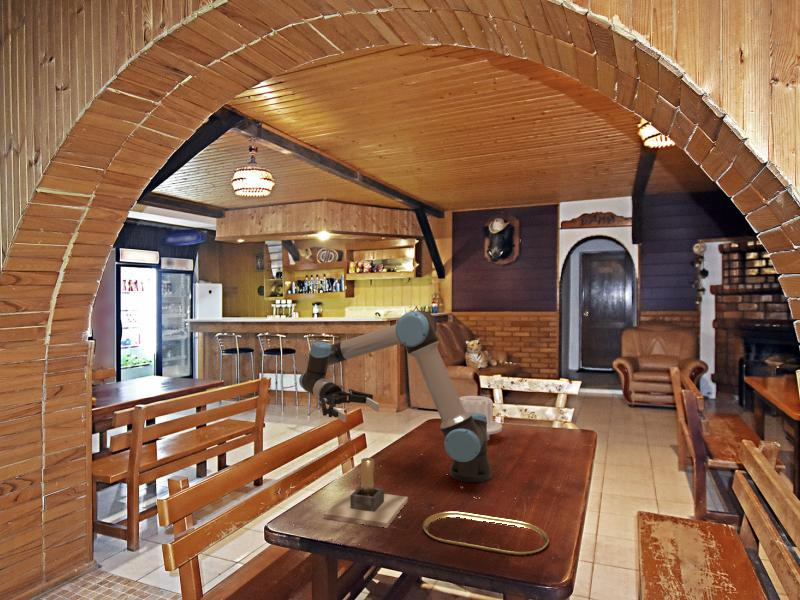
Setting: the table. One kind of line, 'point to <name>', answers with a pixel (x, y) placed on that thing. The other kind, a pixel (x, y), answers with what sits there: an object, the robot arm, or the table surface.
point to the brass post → (367, 477)
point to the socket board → (367, 508)
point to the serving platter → (487, 519)
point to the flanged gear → (481, 411)
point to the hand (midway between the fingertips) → (362, 412)
